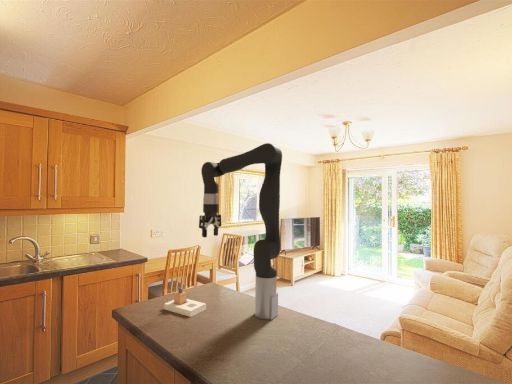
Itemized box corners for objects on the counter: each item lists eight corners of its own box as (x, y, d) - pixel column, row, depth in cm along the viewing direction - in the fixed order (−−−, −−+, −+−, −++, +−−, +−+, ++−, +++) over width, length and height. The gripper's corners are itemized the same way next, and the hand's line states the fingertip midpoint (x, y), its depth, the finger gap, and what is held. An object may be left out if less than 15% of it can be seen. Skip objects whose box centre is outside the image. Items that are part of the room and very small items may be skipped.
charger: (186, 307, 129) (186, 287, 129) (180, 310, 126) (180, 290, 126) (180, 305, 131) (180, 286, 131) (173, 308, 128) (174, 288, 128)
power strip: (205, 309, 127) (206, 303, 127) (190, 317, 119) (190, 310, 119) (180, 302, 135) (180, 296, 135) (164, 309, 127) (164, 303, 127)
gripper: (207, 203, 129) (206, 238, 128) (225, 203, 141) (225, 235, 141) (195, 203, 132) (194, 237, 132) (214, 203, 145) (213, 234, 144)
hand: (210, 236), depth 136 cm, fingers open, 8 cm apart
